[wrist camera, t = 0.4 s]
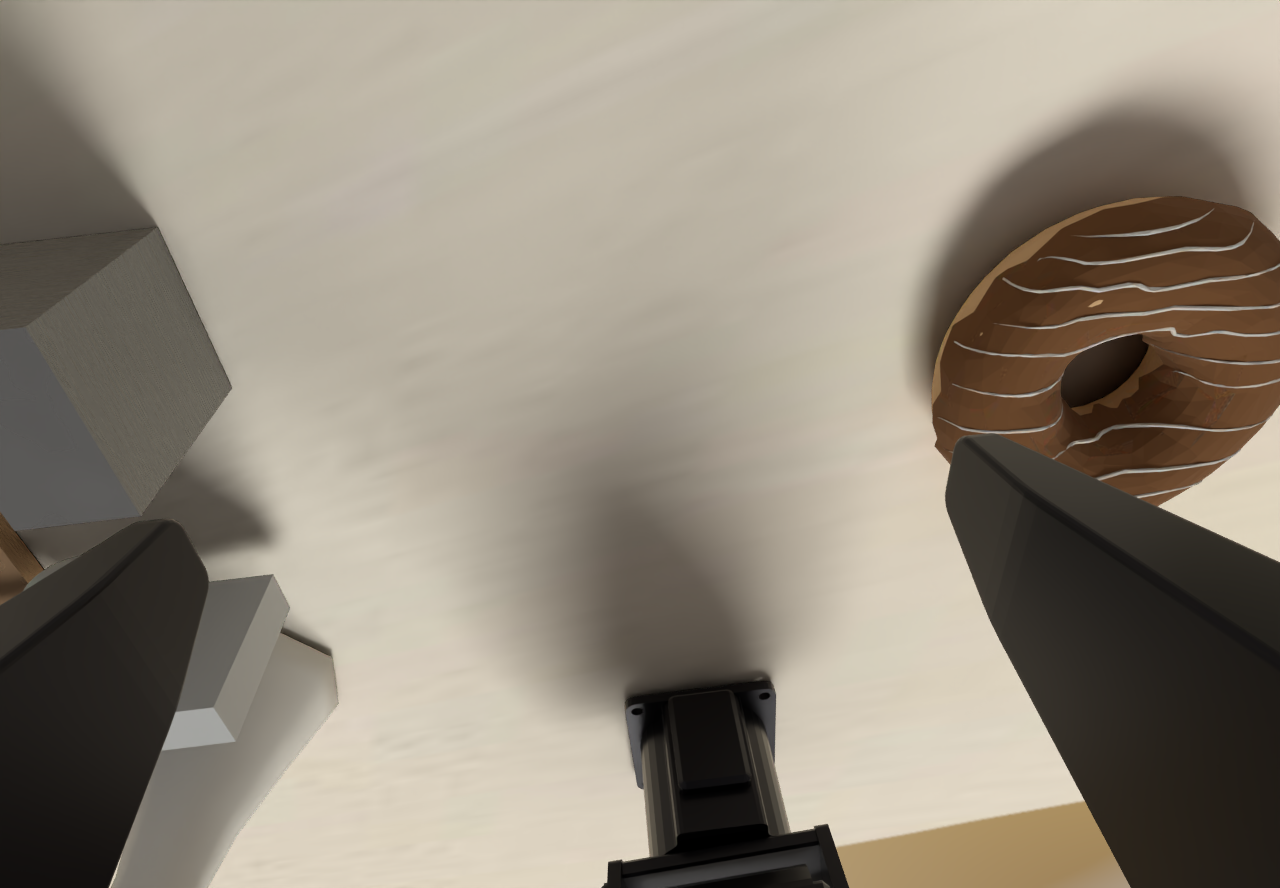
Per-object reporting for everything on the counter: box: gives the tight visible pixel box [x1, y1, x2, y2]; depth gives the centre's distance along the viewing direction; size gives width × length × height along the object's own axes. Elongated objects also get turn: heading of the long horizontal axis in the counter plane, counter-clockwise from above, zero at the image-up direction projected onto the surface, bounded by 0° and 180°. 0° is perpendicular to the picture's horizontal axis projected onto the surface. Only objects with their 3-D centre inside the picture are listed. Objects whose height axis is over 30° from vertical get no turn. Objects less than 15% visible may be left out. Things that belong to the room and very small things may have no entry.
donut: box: [932, 196, 1280, 506], centre depth 23 cm, size 11×11×4 cm
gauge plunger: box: [23, 556, 290, 751], centre depth 23 cm, size 5×12×5 cm, turn 95°
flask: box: [111, 633, 339, 888], centre depth 26 cm, size 7×7×10 cm
